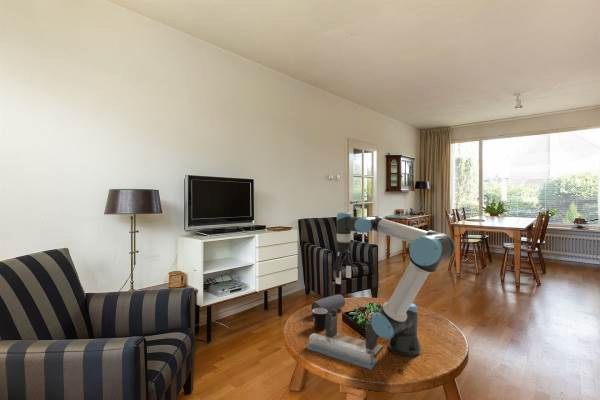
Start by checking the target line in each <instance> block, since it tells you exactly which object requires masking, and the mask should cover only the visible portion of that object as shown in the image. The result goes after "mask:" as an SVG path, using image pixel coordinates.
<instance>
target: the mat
mask: <svg viewBox="0 0 600 400" xmlns="http://www.w3.org/2000/svg"><path fill="white" fill-rule="evenodd" d="M304 348H305V349H306V350H310V351H312V352H314V353H315V352H316V353H319V354H322V355H325V356H328V357H331V358H333V359H337V360H341V361H343V362H345V363H348V364H352V365H355V366H358V367H360V368H361V367H362V368H364V369H368V370H370V371H371V370H372V369H373V368H374V366H376V364H377V363H378V359H375V358H374V362H373V363H372V364H371V366H370V365H367V364H364V363H361V362H358V361H355V360H351V359H348V358H345V357H342V356H339V355H336V354H333V353H330V352H327V351H324V350H321V349H317V348H314V347H311V346H309V344H307V345H306V346H305V347H304Z"/></svg>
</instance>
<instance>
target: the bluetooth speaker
mask: <svg viewBox="0 0 600 400" xmlns="http://www.w3.org/2000/svg"><path fill="white" fill-rule="evenodd" d="M345 305H346V300H345V297H344V296H343V295H342V294H334V295H330V296H327V297H324V298H320V299H318V300H315V301H313V302H312V303H311V309H310V310H311V311H312V310H313V309H316V308H323V309H326V310H327V311H328V312H327V313H330V314H331V309H335V310H337V311H338V310H339V309H342V308H344V306H345Z"/></svg>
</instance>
